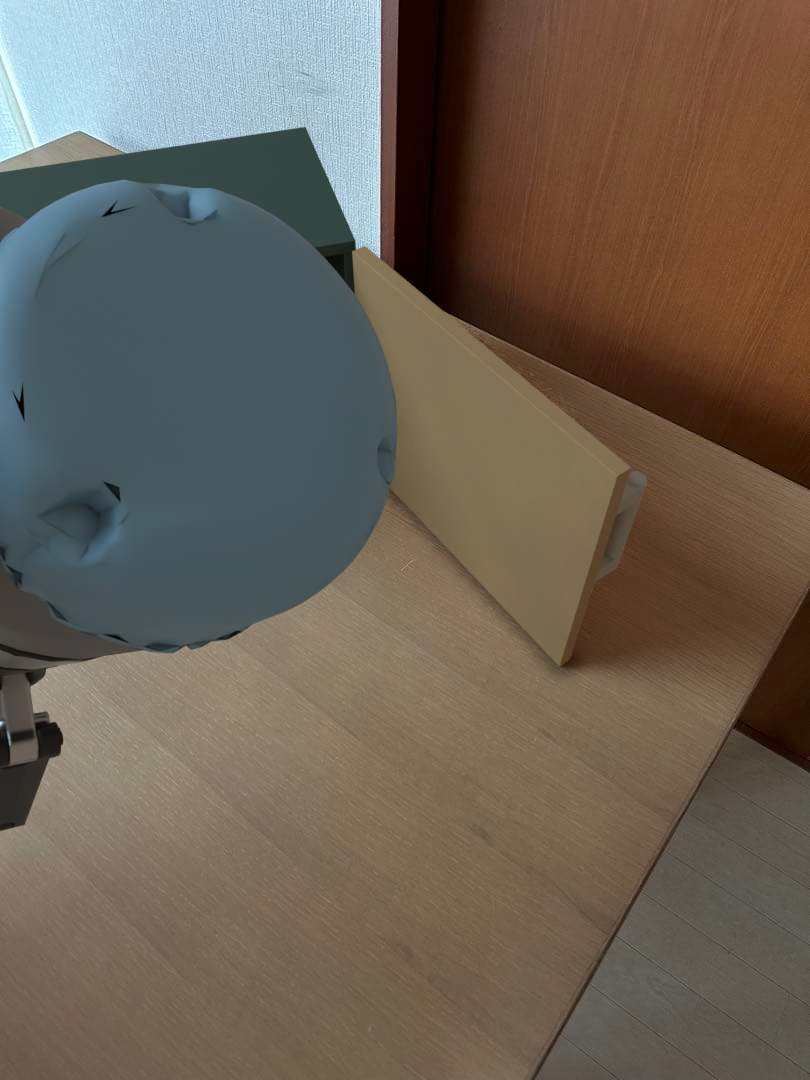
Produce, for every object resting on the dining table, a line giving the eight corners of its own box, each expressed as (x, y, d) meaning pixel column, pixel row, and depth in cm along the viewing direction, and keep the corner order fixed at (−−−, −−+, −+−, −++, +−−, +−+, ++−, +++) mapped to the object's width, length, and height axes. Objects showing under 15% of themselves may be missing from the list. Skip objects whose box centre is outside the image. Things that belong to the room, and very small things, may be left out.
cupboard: (368, 454, 82) (355, 240, 63) (79, 517, 78) (-29, 306, 59) (327, 340, 93) (305, 126, 74) (70, 390, 88) (-25, 175, 69)
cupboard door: (422, 431, 84) (425, 219, 65) (620, 623, 71) (698, 425, 52) (365, 462, 82) (351, 251, 63) (559, 667, 68) (617, 476, 49)
